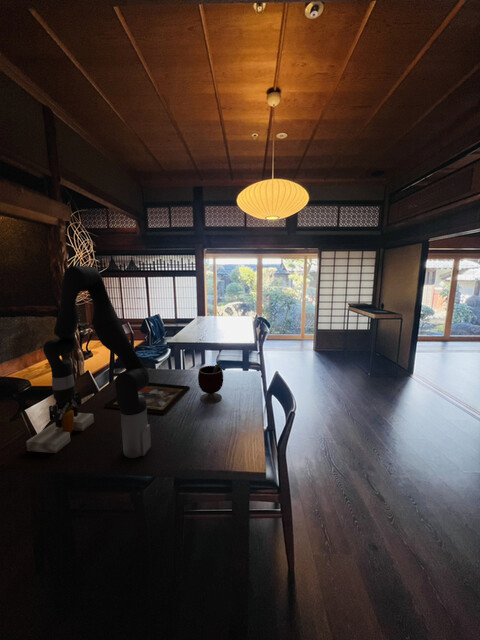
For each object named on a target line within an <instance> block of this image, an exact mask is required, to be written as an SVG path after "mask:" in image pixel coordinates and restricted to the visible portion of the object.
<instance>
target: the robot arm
mask: <svg viewBox="0 0 480 640" xmlns="http://www.w3.org/2000/svg"><path fill="white" fill-rule="evenodd" d="M81 292H88V294H89V296H90V297H91V301H92V303H93V315H92V327H93V330H94V332H95V334H96V336H97V338H98V341H99V342H100V344H102V345H103V346H104V347H105V348H106V349H107V350H109V351H110V352H111V353H113V355H115V357H118V359H119V360H120V361H121V363H122V365H123V367H124V369H125V370H124V371H122V372H119V374H117V376H116V377H115V381H114V383H115V385H114V386H115V394H116V395H115V397H117V402H118V405H119V407H120V409H119V410H120V421H121V423H120V424H121V437H122V450H123V455H124V457H126V458H129V459H130V458H131V459H135V458H139V457H144V456H145V455H146V454H147V453H148V451H149V450H150V449H151V447H152V441H151V438H152V437H151V425H150V423H149V424H148V412H147V405H146V400H145V399H143V398H139V396H138V391H140V390H141V389H143V388H144V387H146V386H147V385H148V383H149V382H150V377H149V375H150V374H149V373H148V371H147V368H146V366H145V365H144V363H143V362H142V360H141V359H140V357H139V356H138V354H137V352H136V351H135V349H134V346H133V344H132V343H131V340H130V339H129V336H128V335H127V332H126V331H125V328H124V326H123V324H122V321H121V319H120V318H119V316H118V315H117V312H116V310H115V308H114V305H113V302H112V301H111V298H110V296H109V293H108V291H107V288H106V285H105V282H104V279H103V276H102V275H101V273H100V271H99V270H98V269H97V268H95V267H94V266H93V267H92V266H90V265H89V266H86V265H71V266H69V267H67V268H66V269H65V271H64V273H63V276H62V285H61V294H60V305H59V306H60V307H59V312H58V316H57V319H56V322H55V324H54V325H55V326H54V328H53V333H54V335H55V336H56V337H57V338H55V339H49V340H47V341H45V342H44V344H43V348H42V351H43V353H44V356H45V358H46V360H47V362H48V364H49V367H50V371H51V385H52V386H51V387H52V394H53V399H54V400H55V404H53V405H49V406H48V411H49V414H48V415H49V421H54V422H55V424H56V427H57V428H61V427H63V424H62V419H61V418H62V415H63V414H64V413H65V410H67V409H68V408H69V407H70V410H73V412H74V417H77V416H78V413H79V409H78V408H79V406H80V405H82V399H81V393H80V391H76V385H75V378H74V374H73V373H74V372H73V364H72V361H71V360H70V359H62V358H61V357H62V356H64V355H65V356H66V355H68V354H70V353H72V352H73V351H74V350H75V347H76V330H77V329H78V326H79V322H80V313H79V310H78V307H77V298H78V295H79V294H80V293H81ZM68 404H69V406H68ZM67 406H68V408H67Z"/></svg>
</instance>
